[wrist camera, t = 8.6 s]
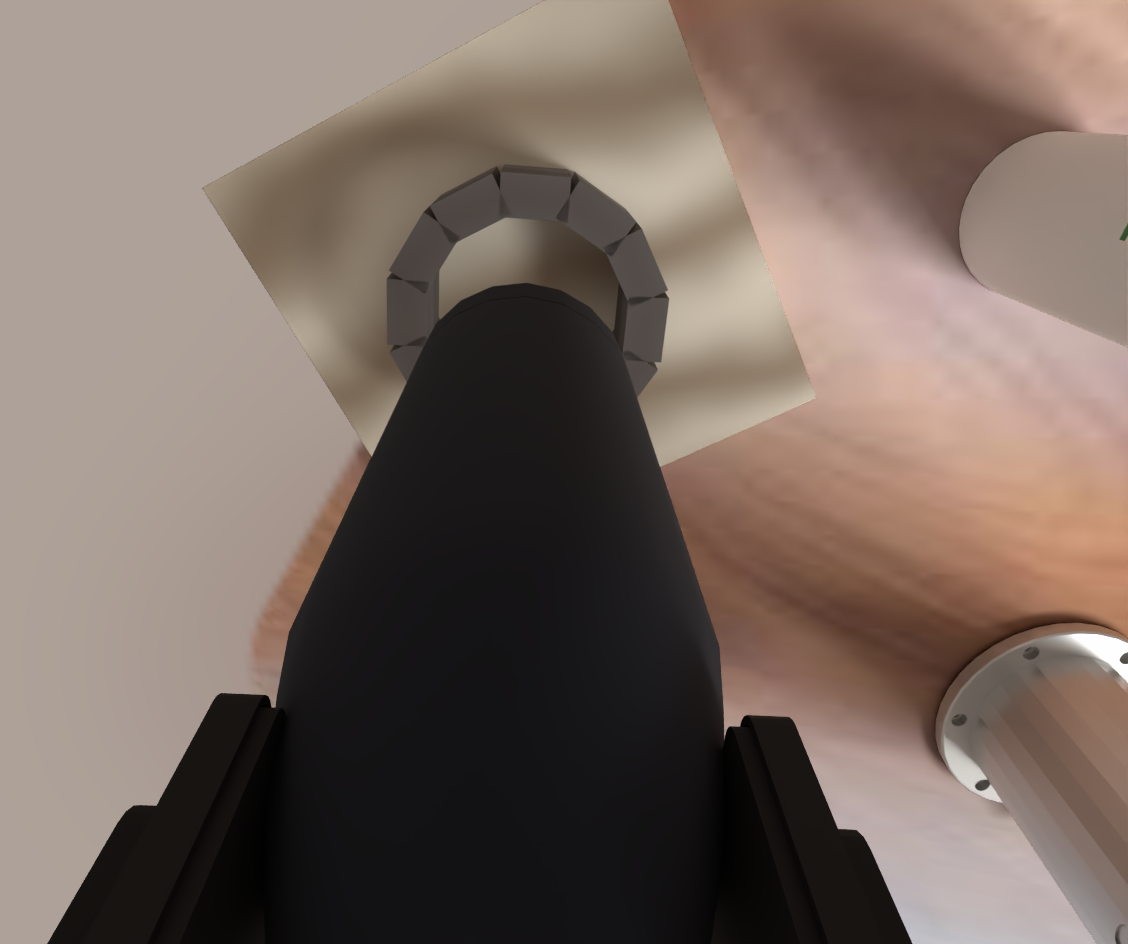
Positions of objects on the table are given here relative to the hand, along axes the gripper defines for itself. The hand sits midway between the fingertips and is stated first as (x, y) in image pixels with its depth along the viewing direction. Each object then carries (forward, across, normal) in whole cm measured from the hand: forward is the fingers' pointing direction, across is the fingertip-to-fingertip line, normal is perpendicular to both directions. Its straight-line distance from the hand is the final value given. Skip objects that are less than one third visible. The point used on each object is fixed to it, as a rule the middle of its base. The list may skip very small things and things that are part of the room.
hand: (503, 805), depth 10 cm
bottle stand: (+30, 0, 0) cm, 30 cm away
